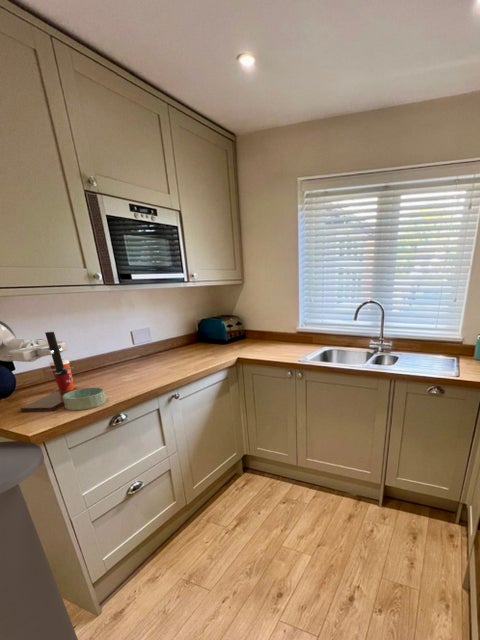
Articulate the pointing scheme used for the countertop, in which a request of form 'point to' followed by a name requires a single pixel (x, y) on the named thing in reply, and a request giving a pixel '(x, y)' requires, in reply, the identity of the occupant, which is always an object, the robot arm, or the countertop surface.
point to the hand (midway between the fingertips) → (57, 351)
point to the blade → (56, 355)
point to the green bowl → (84, 398)
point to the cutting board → (46, 403)
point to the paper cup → (64, 377)
